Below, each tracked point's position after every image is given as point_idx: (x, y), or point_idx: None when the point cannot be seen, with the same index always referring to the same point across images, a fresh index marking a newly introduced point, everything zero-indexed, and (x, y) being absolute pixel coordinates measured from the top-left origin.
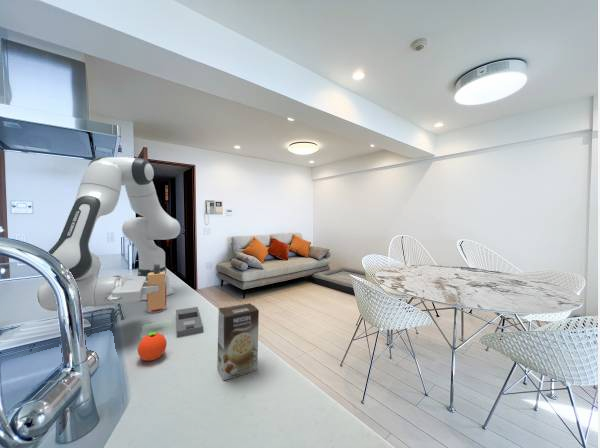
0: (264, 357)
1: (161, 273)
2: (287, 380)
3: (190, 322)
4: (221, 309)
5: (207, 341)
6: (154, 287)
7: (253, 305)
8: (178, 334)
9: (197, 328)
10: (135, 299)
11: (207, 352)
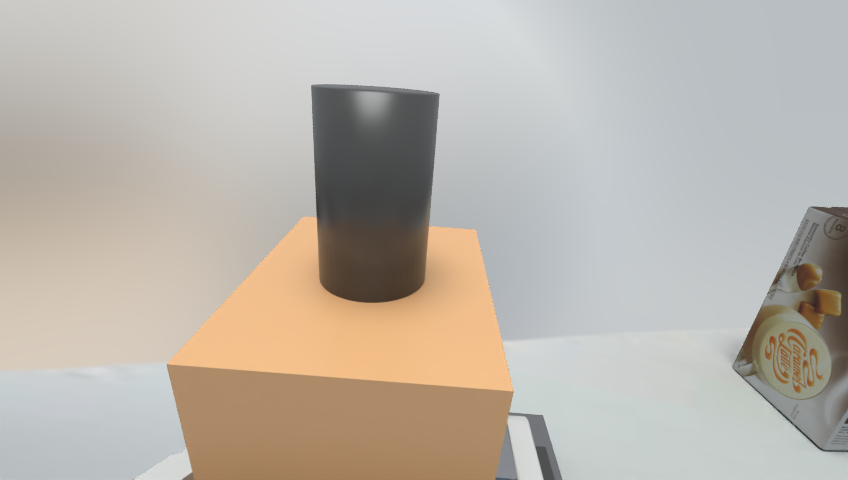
0: (719, 341)
1: (430, 244)
2: None
3: None
4: None
5: (614, 440)
6: (535, 474)
7: (834, 207)
8: None
9: (548, 440)
10: None
11: (712, 457)
